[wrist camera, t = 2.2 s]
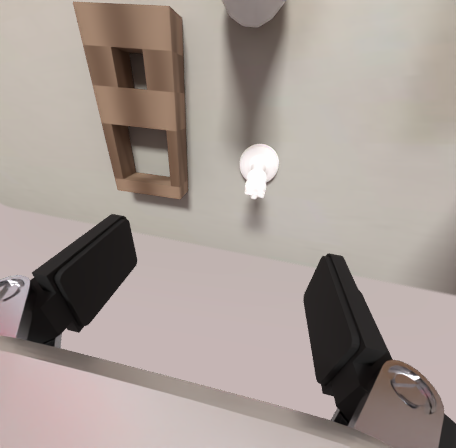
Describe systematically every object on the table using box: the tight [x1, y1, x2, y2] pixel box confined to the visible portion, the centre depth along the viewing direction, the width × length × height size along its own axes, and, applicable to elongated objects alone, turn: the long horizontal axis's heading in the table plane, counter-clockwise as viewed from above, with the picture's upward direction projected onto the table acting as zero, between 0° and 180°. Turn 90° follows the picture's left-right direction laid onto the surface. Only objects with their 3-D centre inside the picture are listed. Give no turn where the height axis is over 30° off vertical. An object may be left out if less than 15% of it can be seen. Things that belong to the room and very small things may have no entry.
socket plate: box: [73, 2, 188, 199], centre depth 23 cm, size 9×18×3 cm, turn 176°
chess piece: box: [240, 144, 279, 199], centre depth 21 cm, size 5×5×10 cm
